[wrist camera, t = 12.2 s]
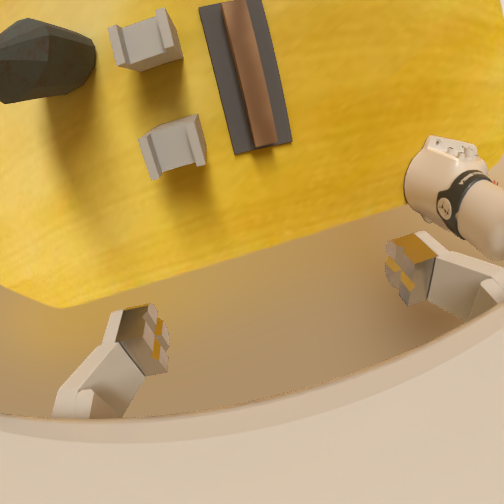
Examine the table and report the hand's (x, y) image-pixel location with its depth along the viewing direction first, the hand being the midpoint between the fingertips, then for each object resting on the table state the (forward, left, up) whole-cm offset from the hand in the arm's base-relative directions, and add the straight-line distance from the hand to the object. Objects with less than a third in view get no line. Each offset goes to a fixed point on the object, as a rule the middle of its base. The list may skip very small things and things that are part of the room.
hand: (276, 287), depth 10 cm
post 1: (+6, -15, -37) cm, 40 cm away
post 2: (+6, -1, -37) cm, 38 cm away
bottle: (+20, -19, -37) cm, 46 cm away
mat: (-6, -8, -37) cm, 38 cm away
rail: (-6, -8, -36) cm, 38 cm away
